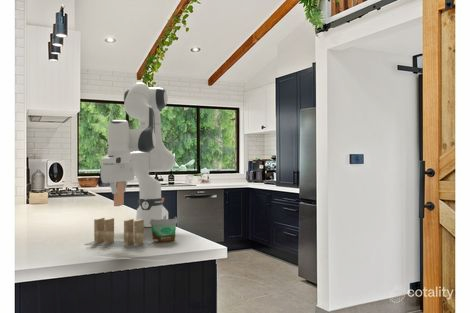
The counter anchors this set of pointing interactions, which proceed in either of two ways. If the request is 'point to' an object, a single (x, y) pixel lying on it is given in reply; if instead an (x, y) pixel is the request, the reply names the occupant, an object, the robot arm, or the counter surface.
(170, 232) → the food container
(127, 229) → the maple domino
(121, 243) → the flat board
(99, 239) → the maple domino
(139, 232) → the maple domino
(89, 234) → the counter surface
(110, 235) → the maple domino
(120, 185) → the terracotta domino
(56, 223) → the counter surface
